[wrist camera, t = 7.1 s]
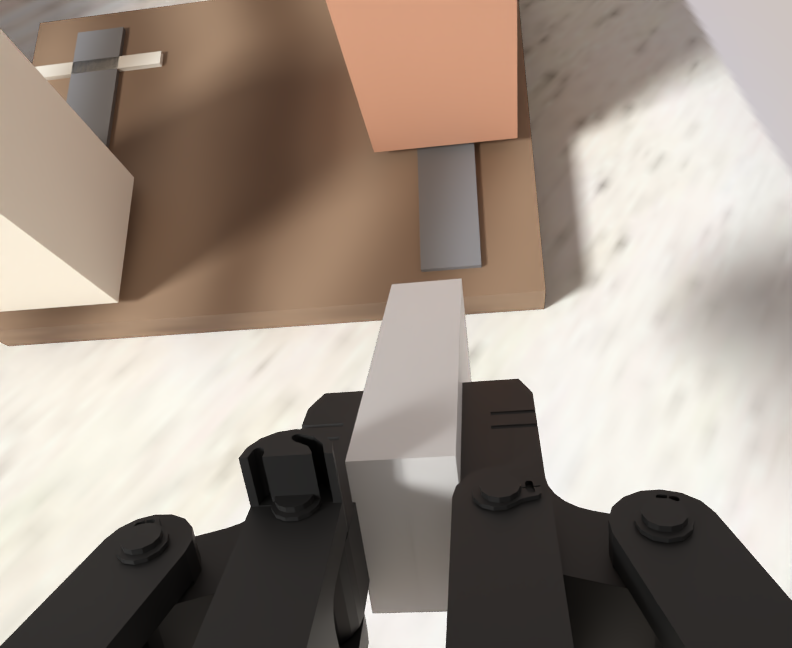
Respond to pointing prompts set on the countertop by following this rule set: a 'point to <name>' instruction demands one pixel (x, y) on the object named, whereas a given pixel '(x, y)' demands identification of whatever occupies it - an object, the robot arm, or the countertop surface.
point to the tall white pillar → (55, 197)
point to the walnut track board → (275, 180)
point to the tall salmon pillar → (431, 69)
